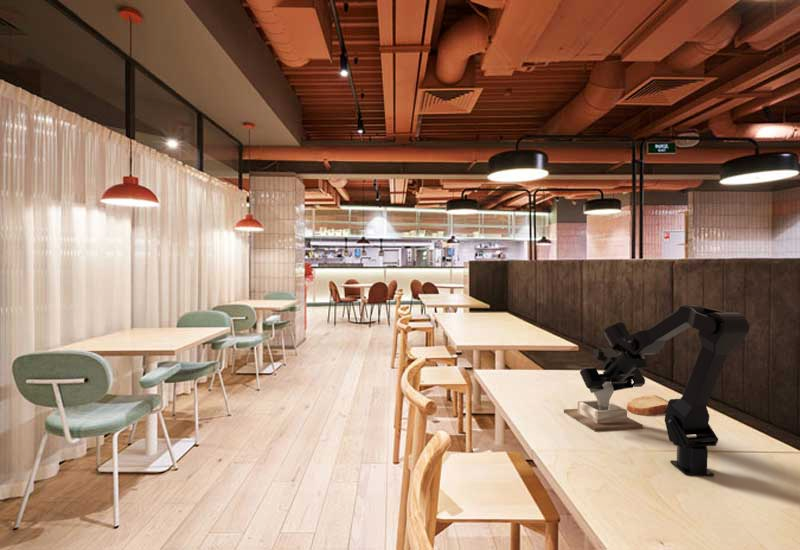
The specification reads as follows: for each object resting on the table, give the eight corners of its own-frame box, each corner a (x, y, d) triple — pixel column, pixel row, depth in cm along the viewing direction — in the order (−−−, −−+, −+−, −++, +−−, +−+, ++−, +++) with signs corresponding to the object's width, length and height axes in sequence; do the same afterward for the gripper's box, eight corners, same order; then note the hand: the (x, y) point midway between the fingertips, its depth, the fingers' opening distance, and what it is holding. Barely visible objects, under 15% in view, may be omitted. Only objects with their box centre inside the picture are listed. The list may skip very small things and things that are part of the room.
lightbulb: (612, 418, 130) (610, 382, 130) (590, 415, 134) (589, 380, 134) (616, 412, 135) (615, 377, 134) (596, 409, 139) (594, 375, 138)
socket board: (642, 428, 128) (643, 413, 128) (594, 431, 125) (594, 415, 125) (607, 410, 144) (607, 396, 144) (563, 412, 141) (564, 398, 141)
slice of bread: (630, 415, 140) (630, 404, 140) (619, 399, 157) (620, 389, 157) (694, 422, 135) (694, 410, 134) (676, 404, 152) (676, 394, 152)
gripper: (639, 340, 132) (614, 368, 143) (584, 341, 128) (562, 369, 139) (658, 371, 124) (630, 398, 135) (600, 373, 121) (576, 401, 131)
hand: (599, 390), depth 135 cm, fingers closed on lightbulb, 6 cm apart
